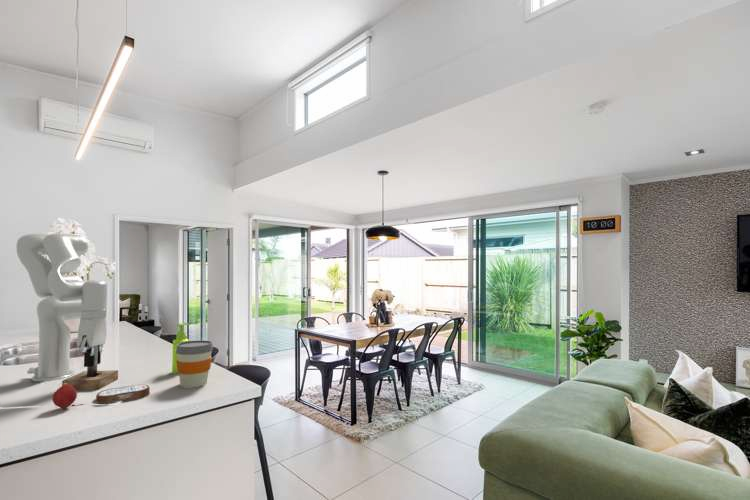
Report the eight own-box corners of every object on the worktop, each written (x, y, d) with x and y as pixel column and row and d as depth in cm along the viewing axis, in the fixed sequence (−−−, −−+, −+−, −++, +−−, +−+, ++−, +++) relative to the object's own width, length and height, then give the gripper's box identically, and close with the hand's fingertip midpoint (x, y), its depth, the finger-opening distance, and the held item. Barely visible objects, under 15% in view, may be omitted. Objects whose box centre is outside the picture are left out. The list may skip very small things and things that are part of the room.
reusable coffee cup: (219, 381, 145) (220, 342, 145) (191, 391, 133) (192, 348, 134) (196, 377, 150) (197, 339, 151) (167, 386, 139) (168, 345, 139)
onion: (61, 405, 119) (62, 379, 120) (80, 405, 120) (81, 379, 120) (47, 412, 113) (48, 385, 114) (67, 412, 114) (68, 385, 114)
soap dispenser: (193, 370, 160) (194, 322, 161) (179, 374, 154) (181, 324, 155) (182, 368, 162) (183, 321, 163) (168, 372, 156) (170, 324, 157)
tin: (95, 398, 125) (95, 408, 119) (95, 389, 125) (96, 398, 119) (147, 389, 134) (151, 398, 128) (148, 381, 134) (151, 389, 128)
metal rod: (84, 378, 137) (86, 339, 137) (90, 376, 140) (91, 338, 140) (93, 378, 137) (95, 339, 138) (98, 376, 140) (100, 338, 141)
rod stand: (61, 392, 131) (62, 380, 132) (83, 381, 143) (84, 371, 144) (99, 391, 133) (99, 379, 133) (117, 380, 145) (118, 370, 145)
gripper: (96, 312, 147) (94, 360, 146) (67, 317, 131) (65, 371, 130) (117, 312, 148) (115, 359, 147) (91, 317, 132) (89, 371, 131)
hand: (92, 364), depth 138 cm, fingers closed on metal rod, 3 cm apart
